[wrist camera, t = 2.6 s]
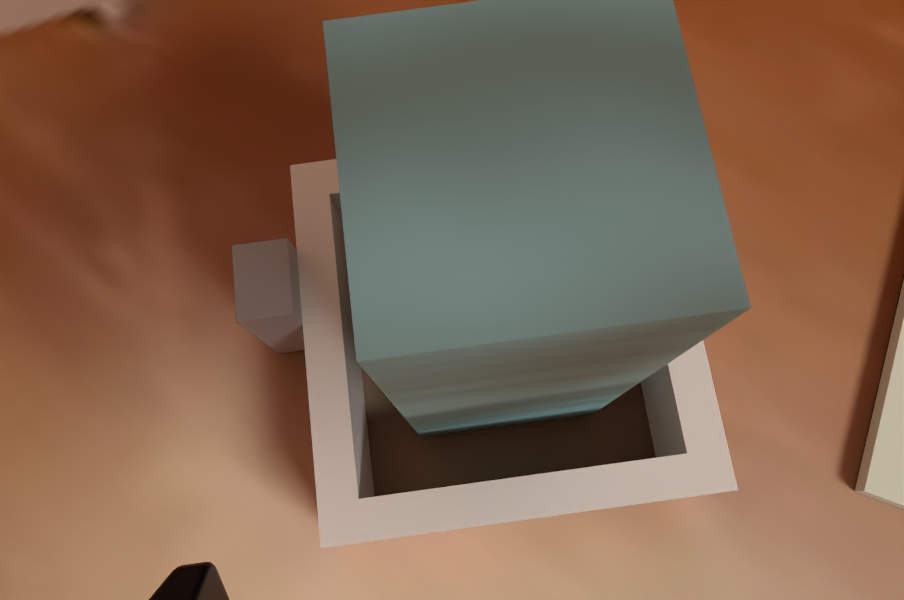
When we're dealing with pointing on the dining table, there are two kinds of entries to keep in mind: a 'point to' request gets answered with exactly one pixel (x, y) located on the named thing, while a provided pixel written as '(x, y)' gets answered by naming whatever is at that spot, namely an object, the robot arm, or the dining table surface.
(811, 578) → the dining table surface
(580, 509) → the collar
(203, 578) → the robot arm
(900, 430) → the mat
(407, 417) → the post
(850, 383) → the dining table surface
